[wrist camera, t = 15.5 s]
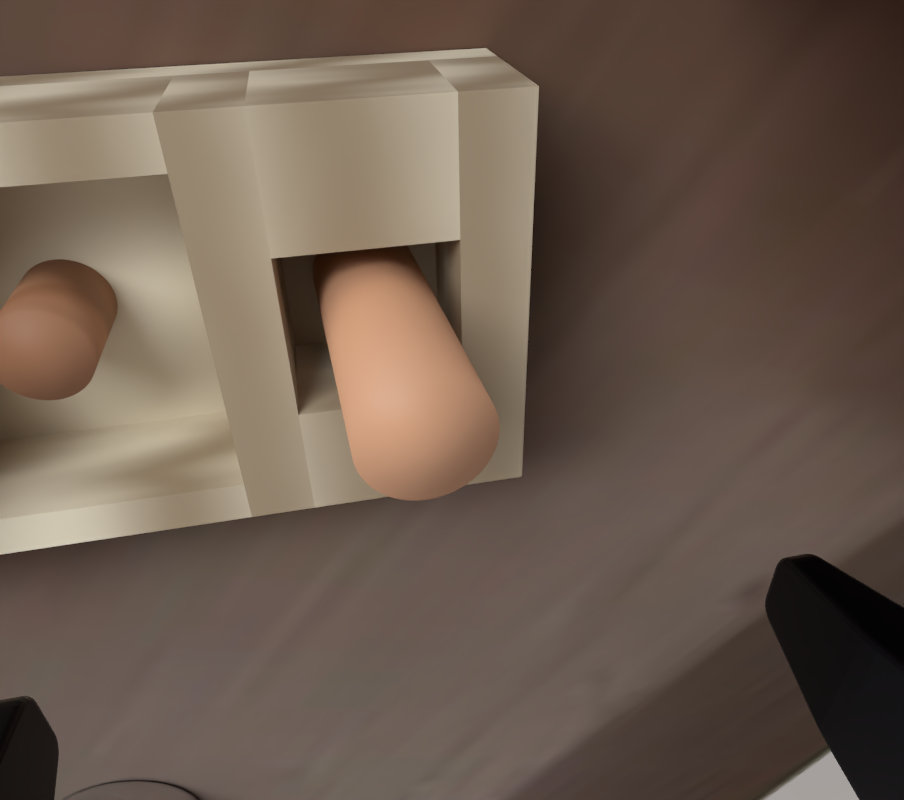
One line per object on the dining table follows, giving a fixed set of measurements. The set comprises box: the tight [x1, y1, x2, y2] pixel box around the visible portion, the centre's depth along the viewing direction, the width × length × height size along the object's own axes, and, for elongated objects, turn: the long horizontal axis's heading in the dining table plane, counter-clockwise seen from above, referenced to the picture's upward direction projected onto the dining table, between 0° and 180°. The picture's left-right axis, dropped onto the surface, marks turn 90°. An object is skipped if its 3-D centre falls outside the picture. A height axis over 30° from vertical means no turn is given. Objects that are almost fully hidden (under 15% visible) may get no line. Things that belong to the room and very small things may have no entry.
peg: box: [313, 245, 500, 501], centre depth 14 cm, size 2×2×7 cm
